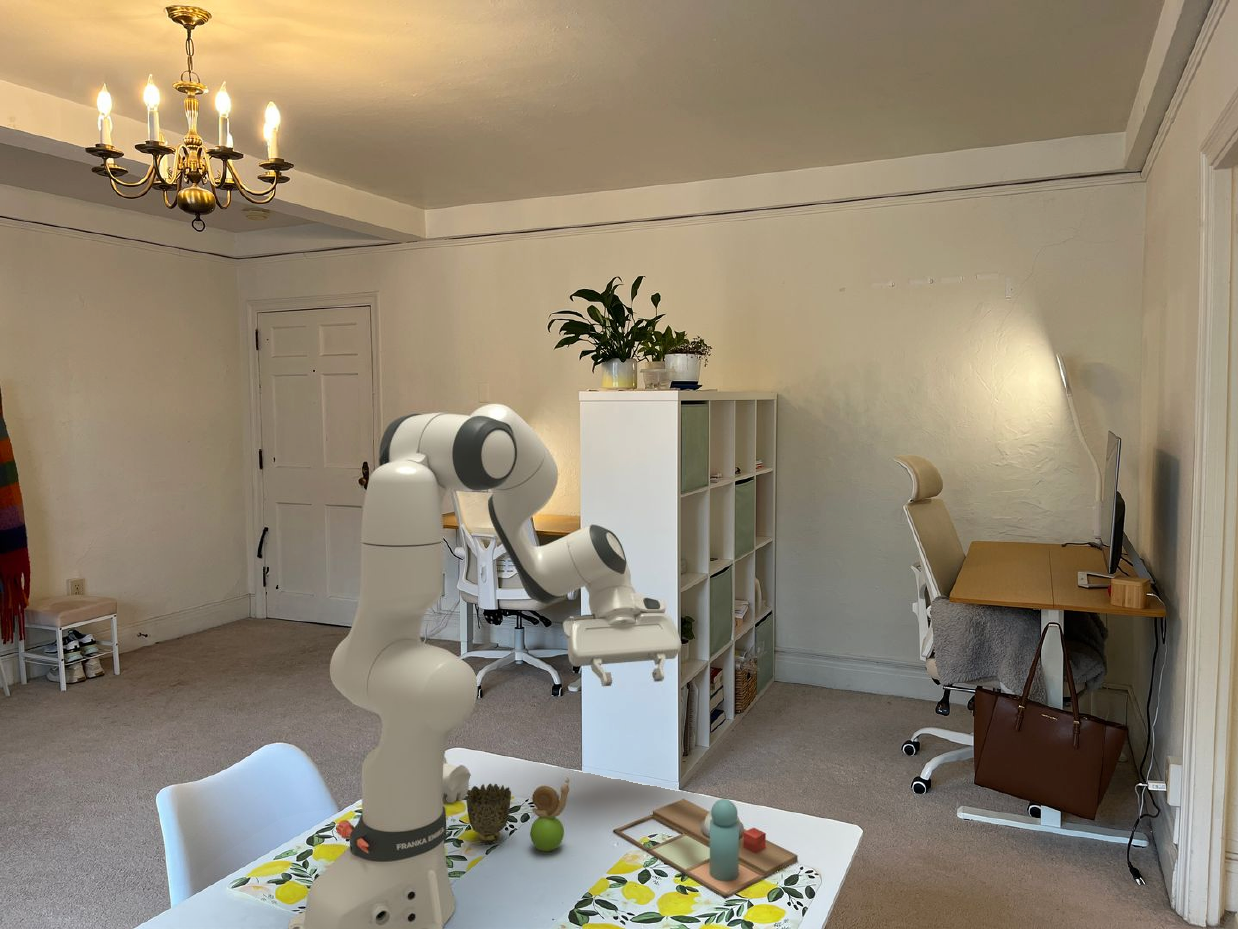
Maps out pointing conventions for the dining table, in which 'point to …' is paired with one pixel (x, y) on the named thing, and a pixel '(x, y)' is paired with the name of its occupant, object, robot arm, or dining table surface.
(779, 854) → the game board
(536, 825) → the snail figurine
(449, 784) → the elephant figurine
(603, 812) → the dining table surface
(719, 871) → the pawn
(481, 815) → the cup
